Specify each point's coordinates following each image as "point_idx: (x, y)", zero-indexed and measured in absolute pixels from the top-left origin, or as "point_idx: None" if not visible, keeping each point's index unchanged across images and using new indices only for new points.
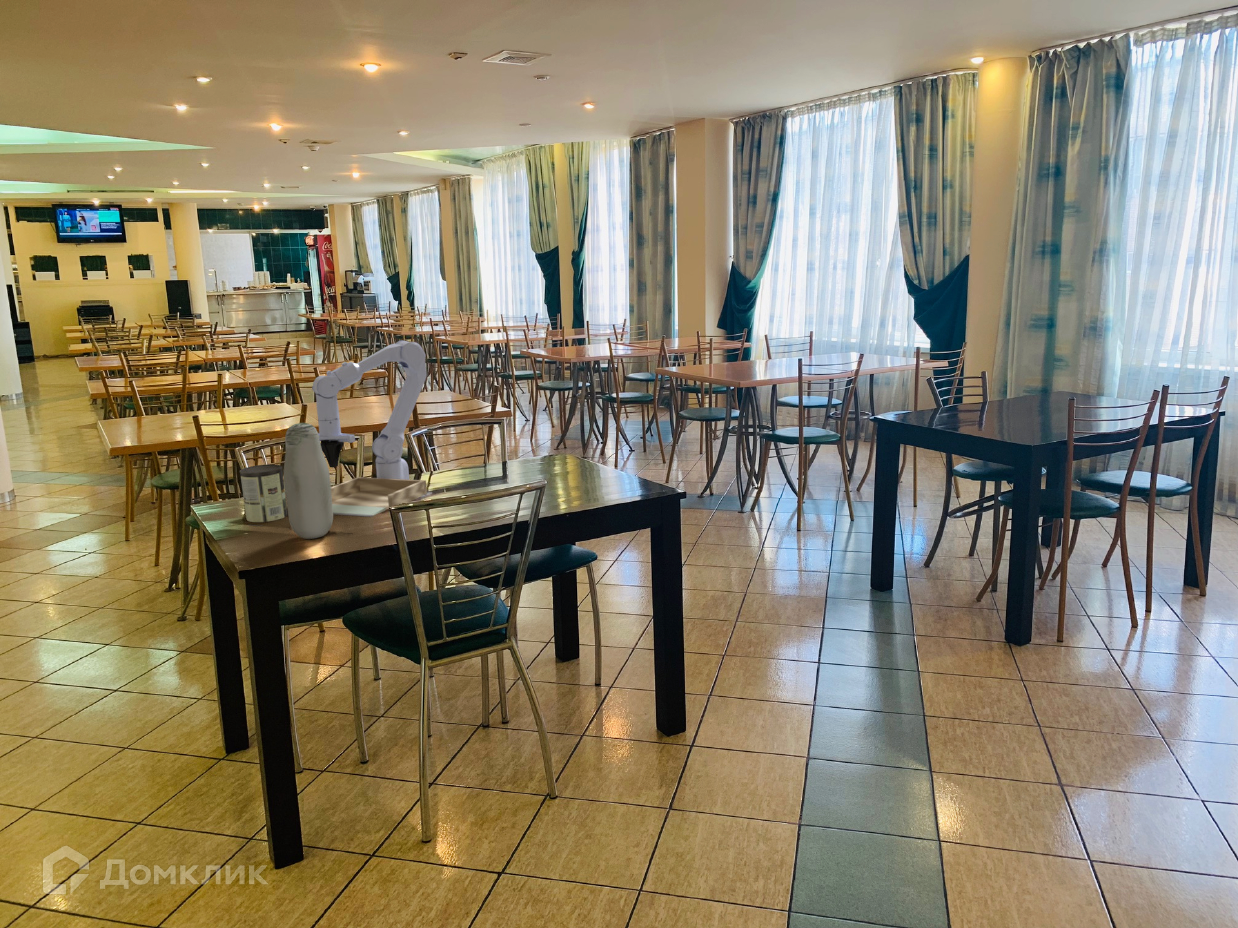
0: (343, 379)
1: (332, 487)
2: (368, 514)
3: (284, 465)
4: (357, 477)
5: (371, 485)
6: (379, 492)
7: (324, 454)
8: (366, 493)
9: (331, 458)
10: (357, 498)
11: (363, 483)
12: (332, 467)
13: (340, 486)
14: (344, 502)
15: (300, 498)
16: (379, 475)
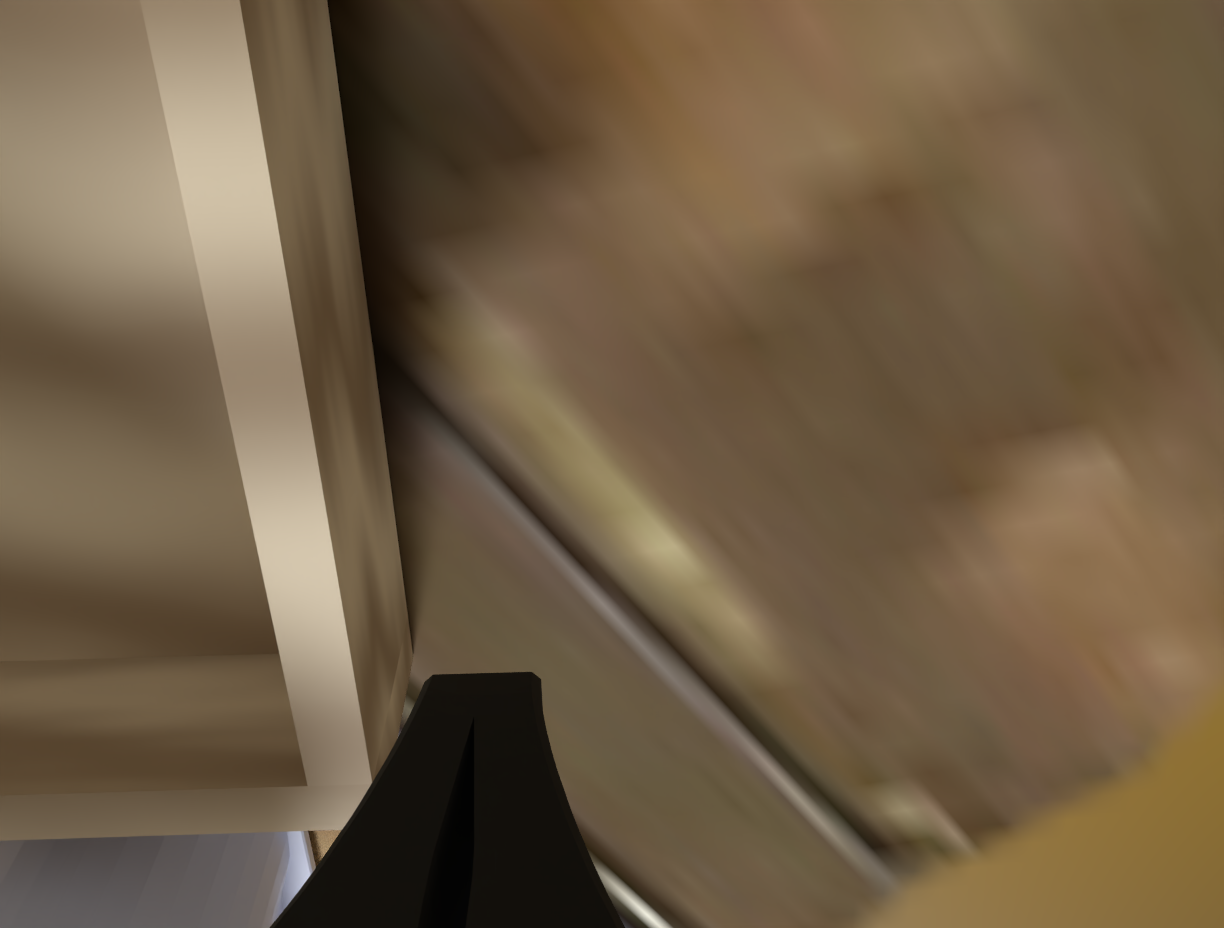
0: None
1: (215, 163)
2: None
3: None
4: None
5: (129, 717)
6: (24, 645)
7: (604, 905)
8: (155, 575)
9: (383, 823)
10: (31, 321)
11: (253, 729)
12: (455, 674)
13: (223, 348)
14: (7, 43)
15: None
16: (81, 917)
